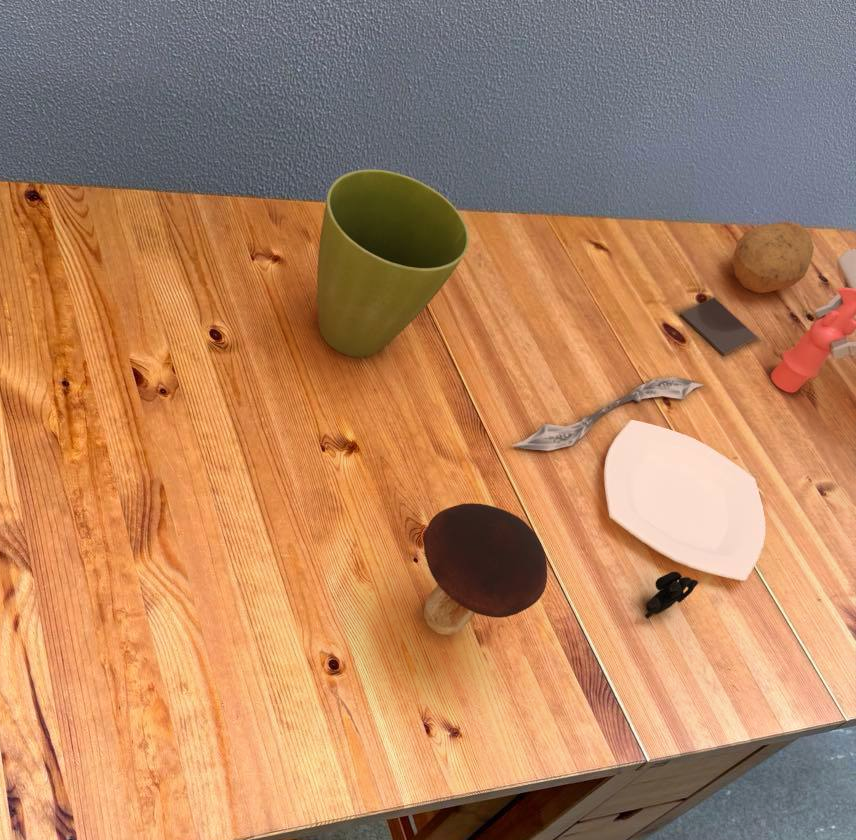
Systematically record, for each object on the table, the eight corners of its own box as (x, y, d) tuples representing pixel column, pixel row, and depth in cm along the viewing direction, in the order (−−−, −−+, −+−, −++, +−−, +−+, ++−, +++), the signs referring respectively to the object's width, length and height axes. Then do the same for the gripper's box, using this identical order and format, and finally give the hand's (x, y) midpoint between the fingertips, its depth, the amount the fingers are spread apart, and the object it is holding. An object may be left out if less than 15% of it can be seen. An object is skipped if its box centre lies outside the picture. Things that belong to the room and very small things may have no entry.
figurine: (765, 385, 124) (844, 293, 113) (766, 362, 128) (843, 270, 116) (801, 401, 124) (884, 311, 113) (801, 378, 128) (882, 288, 116)
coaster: (755, 339, 130) (757, 337, 130) (723, 356, 126) (725, 354, 125) (712, 299, 132) (714, 297, 132) (679, 314, 128) (680, 312, 128)
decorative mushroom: (414, 688, 85) (483, 602, 73) (363, 583, 90) (420, 487, 78) (514, 658, 90) (594, 573, 78) (461, 560, 95) (528, 466, 83)
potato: (699, 272, 135) (734, 226, 129) (749, 246, 143) (784, 201, 137) (753, 318, 132) (791, 273, 126) (800, 289, 140) (839, 245, 134)
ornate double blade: (704, 388, 120) (677, 361, 122) (707, 385, 120) (679, 358, 122) (536, 476, 104) (506, 443, 106) (538, 472, 103) (508, 439, 105)
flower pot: (336, 268, 114) (379, 150, 102) (437, 340, 112) (495, 229, 100) (260, 325, 106) (297, 204, 93) (369, 405, 103) (422, 291, 91)
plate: (749, 609, 102) (761, 600, 100) (582, 530, 102) (591, 519, 100) (760, 484, 113) (770, 474, 112) (610, 413, 113) (619, 402, 112)
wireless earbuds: (637, 625, 96) (665, 599, 92) (621, 605, 97) (648, 578, 93) (682, 602, 100) (711, 577, 96) (667, 583, 101) (695, 557, 97)
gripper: (913, 212, 117) (792, 261, 123) (987, 333, 106) (850, 380, 111) (915, 248, 122) (798, 293, 127) (986, 367, 111) (855, 411, 116)
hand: (823, 335), depth 119 cm, fingers closed on figurine, 4 cm apart
